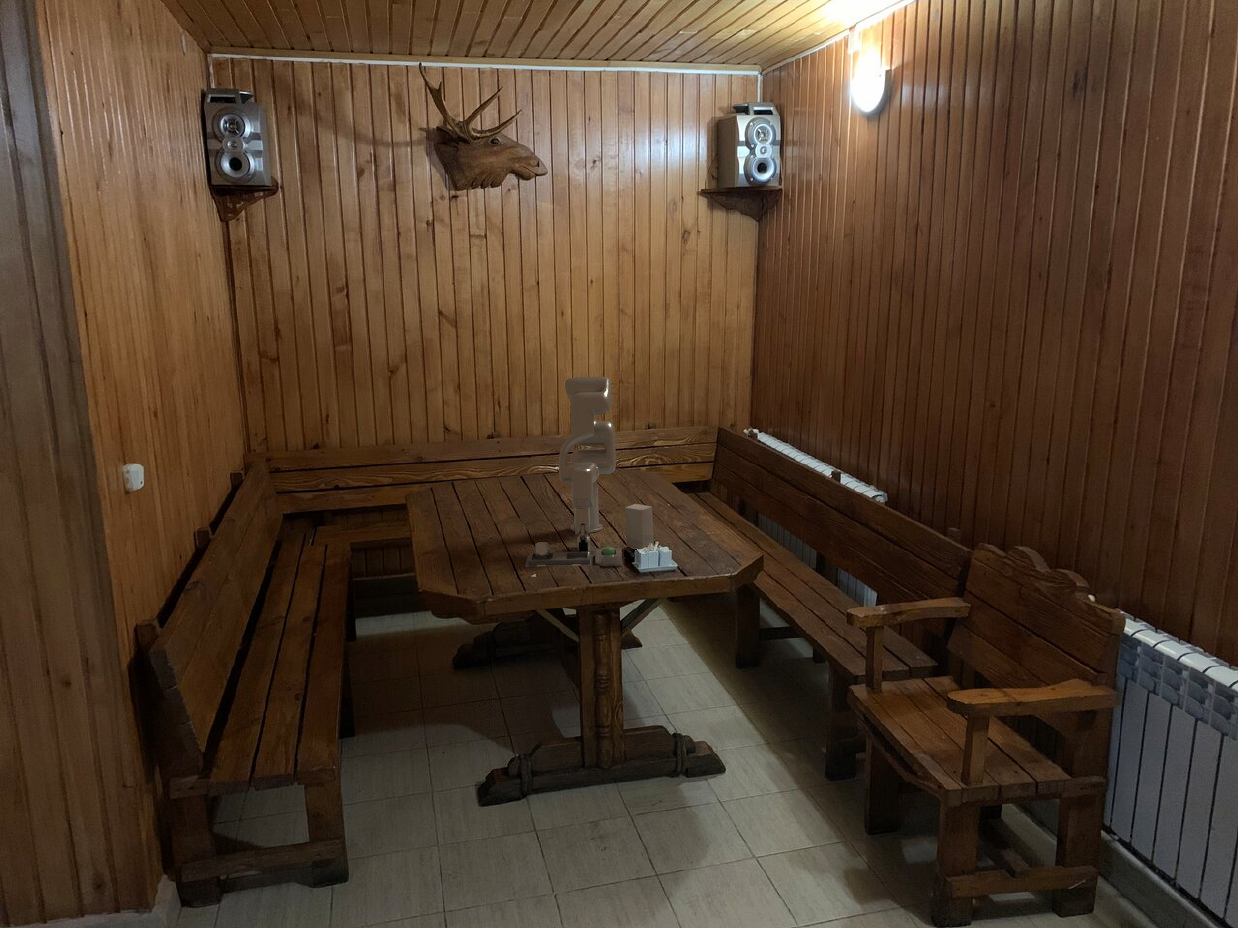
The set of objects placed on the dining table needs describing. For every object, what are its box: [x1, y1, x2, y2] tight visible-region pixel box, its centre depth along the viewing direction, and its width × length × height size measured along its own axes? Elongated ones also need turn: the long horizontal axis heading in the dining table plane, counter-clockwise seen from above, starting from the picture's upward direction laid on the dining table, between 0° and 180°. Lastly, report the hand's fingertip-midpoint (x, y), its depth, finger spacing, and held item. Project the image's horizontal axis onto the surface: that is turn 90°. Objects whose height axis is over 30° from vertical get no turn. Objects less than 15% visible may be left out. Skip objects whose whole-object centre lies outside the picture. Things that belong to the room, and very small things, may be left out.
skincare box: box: [624, 503, 654, 548], centre depth 326 cm, size 8×7×16 cm
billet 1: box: [534, 541, 550, 560], centre depth 311 cm, size 4×4×6 cm
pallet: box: [524, 551, 594, 568], centre depth 311 cm, size 13×23×2 cm, turn 90°
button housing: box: [595, 547, 623, 567], centre depth 311 cm, size 9×9×4 cm
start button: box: [602, 546, 615, 555], centre depth 311 cm, size 4×4×3 cm
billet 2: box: [576, 534, 591, 552], centre depth 322 cm, size 4×4×6 cm
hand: (583, 549), depth 322 cm, fingers open, 7 cm apart
